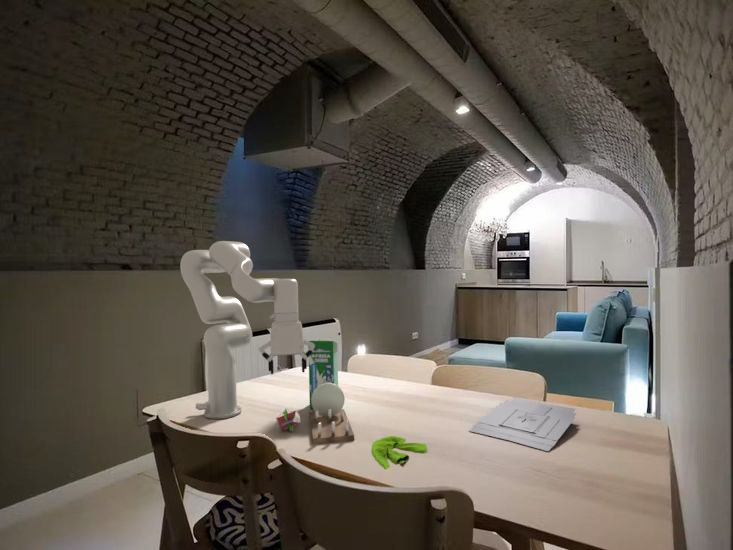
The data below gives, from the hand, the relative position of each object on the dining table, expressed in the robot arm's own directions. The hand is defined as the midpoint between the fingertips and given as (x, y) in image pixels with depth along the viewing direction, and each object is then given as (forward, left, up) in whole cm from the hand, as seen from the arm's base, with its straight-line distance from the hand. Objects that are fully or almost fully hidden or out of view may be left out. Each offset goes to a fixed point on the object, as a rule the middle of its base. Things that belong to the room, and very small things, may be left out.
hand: (287, 372), depth 136 cm
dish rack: (+13, 0, -18) cm, 22 cm away
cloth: (+30, -24, -19) cm, 43 cm away
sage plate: (+13, +6, -17) cm, 22 cm away
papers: (+73, -14, -19) cm, 77 cm away
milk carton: (+13, +22, -18) cm, 31 cm away
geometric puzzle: (0, 0, -18) cm, 19 cm away
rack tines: (+13, 0, -17) cm, 21 cm away
